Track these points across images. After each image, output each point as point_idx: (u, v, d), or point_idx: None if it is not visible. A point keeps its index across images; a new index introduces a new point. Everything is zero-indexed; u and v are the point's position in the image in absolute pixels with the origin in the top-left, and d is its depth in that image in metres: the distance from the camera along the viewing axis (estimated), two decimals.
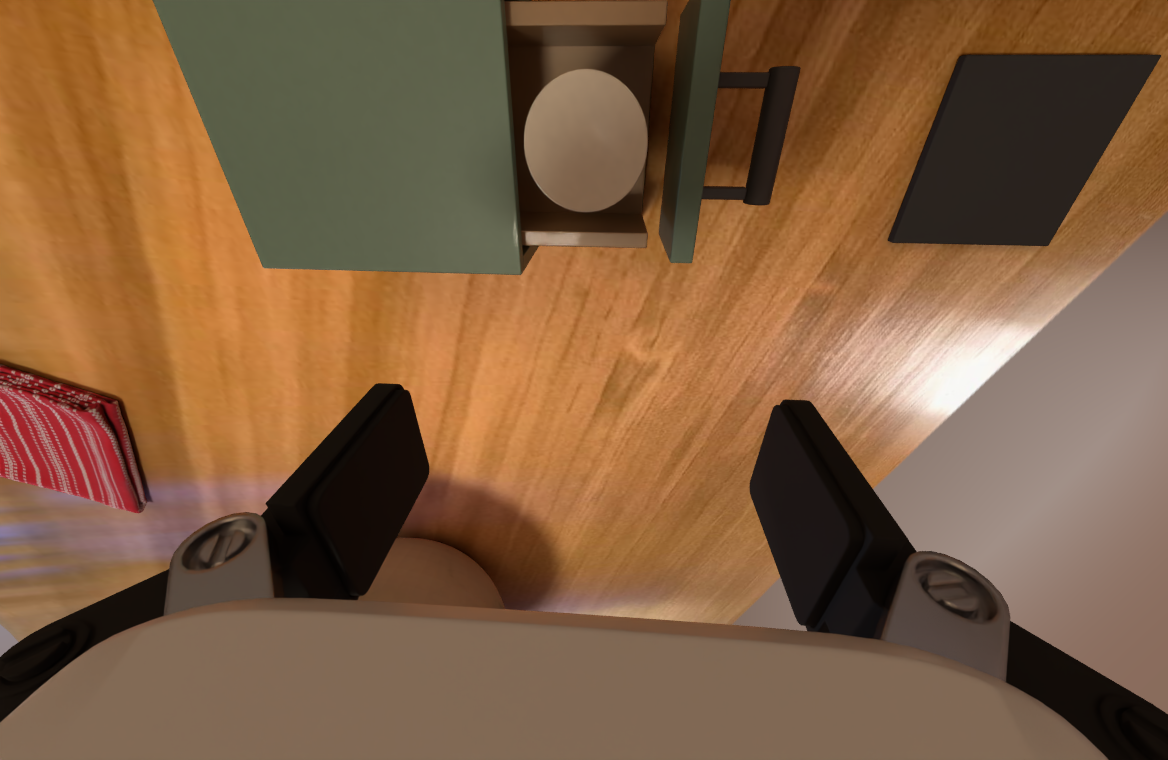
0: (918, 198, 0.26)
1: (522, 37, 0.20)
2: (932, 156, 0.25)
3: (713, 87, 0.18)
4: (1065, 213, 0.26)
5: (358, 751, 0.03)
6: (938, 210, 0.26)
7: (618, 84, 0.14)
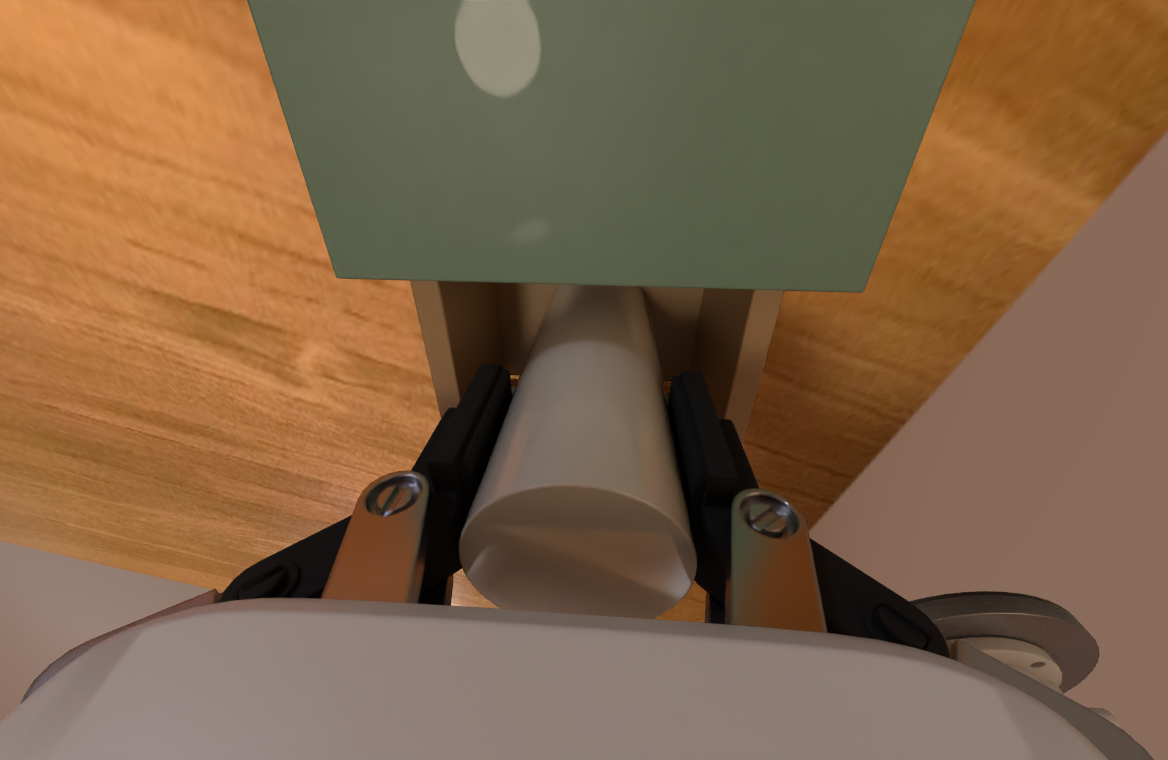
0: None
1: None
2: None
3: None
4: None
5: (358, 751, 0.03)
6: None
7: (666, 606, 0.08)
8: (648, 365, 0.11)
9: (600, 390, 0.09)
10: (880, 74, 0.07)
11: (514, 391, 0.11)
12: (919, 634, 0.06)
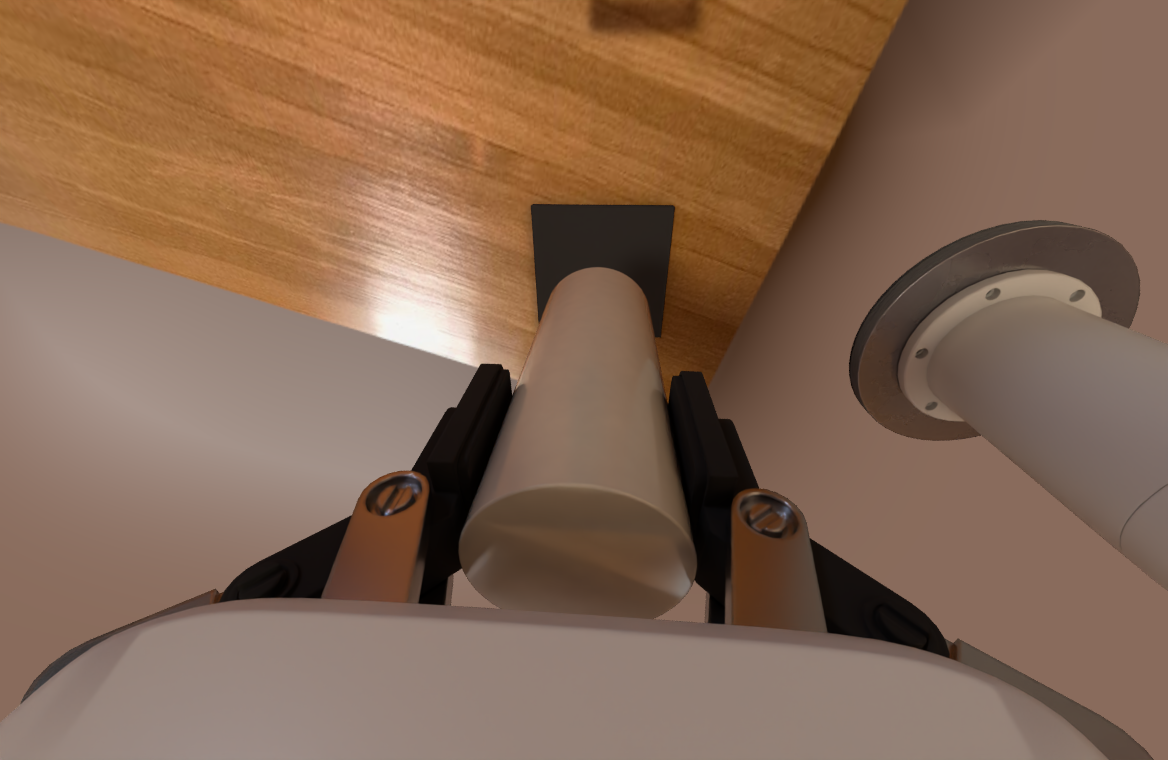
0: (570, 214, 0.29)
1: None
2: (603, 211, 0.29)
3: None
4: None
5: (358, 751, 0.03)
6: (561, 236, 0.30)
7: (666, 606, 0.08)
8: (648, 365, 0.11)
9: (600, 390, 0.09)
10: None
11: (514, 391, 0.11)
12: (918, 634, 0.06)
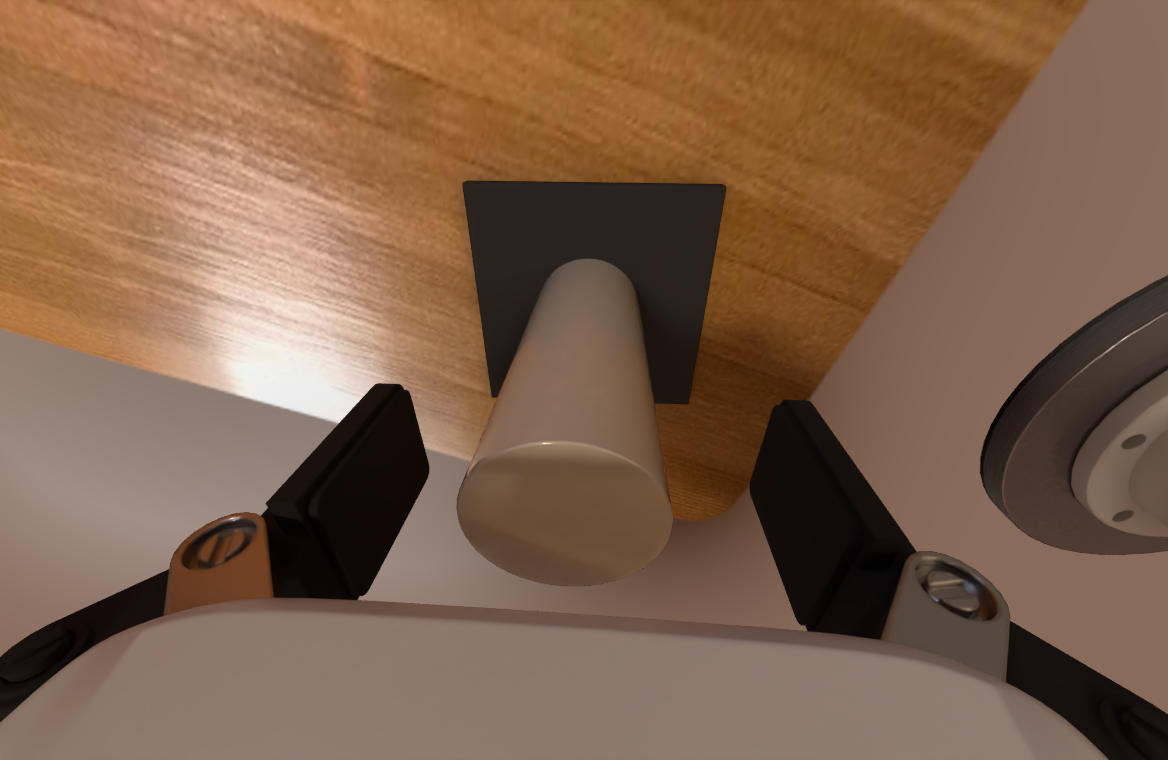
0: (534, 198, 0.16)
1: None
2: (595, 194, 0.16)
3: None
4: None
5: (358, 751, 0.03)
6: (519, 239, 0.17)
7: (646, 560, 0.09)
8: (632, 346, 0.12)
9: (587, 365, 0.09)
10: None
11: (508, 371, 0.12)
12: None
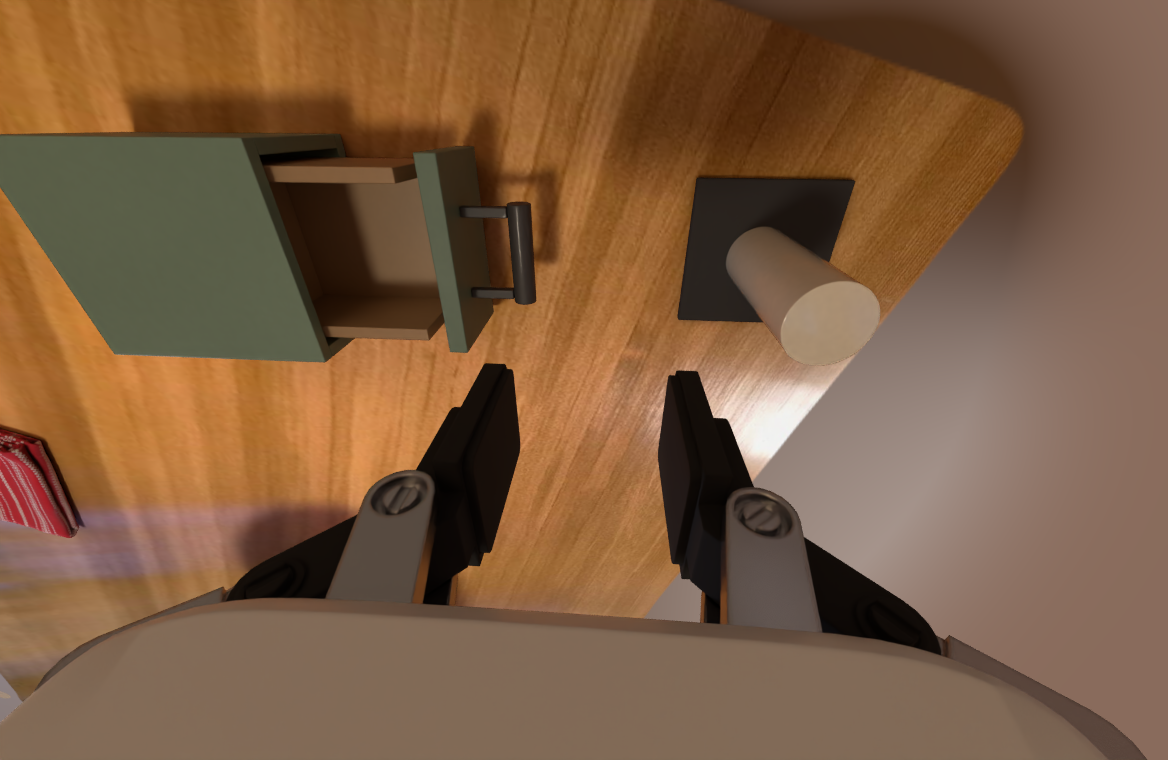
0: (690, 285, 0.31)
1: None
2: (692, 254, 0.29)
3: (443, 228, 0.22)
4: None
5: (358, 751, 0.03)
6: (709, 295, 0.31)
7: (866, 290, 0.18)
8: (770, 263, 0.23)
9: (766, 297, 0.22)
10: (173, 163, 0.21)
11: None
12: (910, 632, 0.06)
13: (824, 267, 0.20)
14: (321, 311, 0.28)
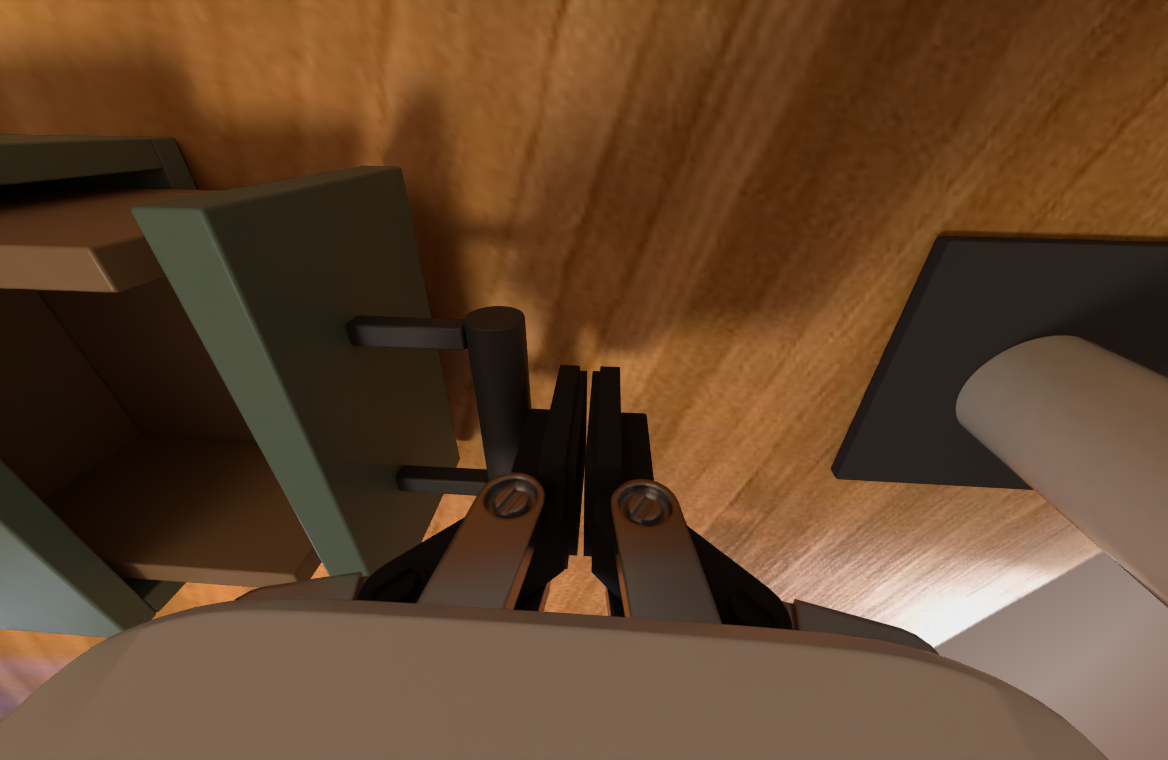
0: (874, 429, 0.16)
1: None
2: (894, 379, 0.15)
3: (280, 406, 0.08)
4: None
5: (358, 751, 0.03)
6: (907, 445, 0.16)
7: None
8: None
9: None
10: None
11: None
12: (767, 618, 0.06)
13: None
14: (102, 496, 0.14)
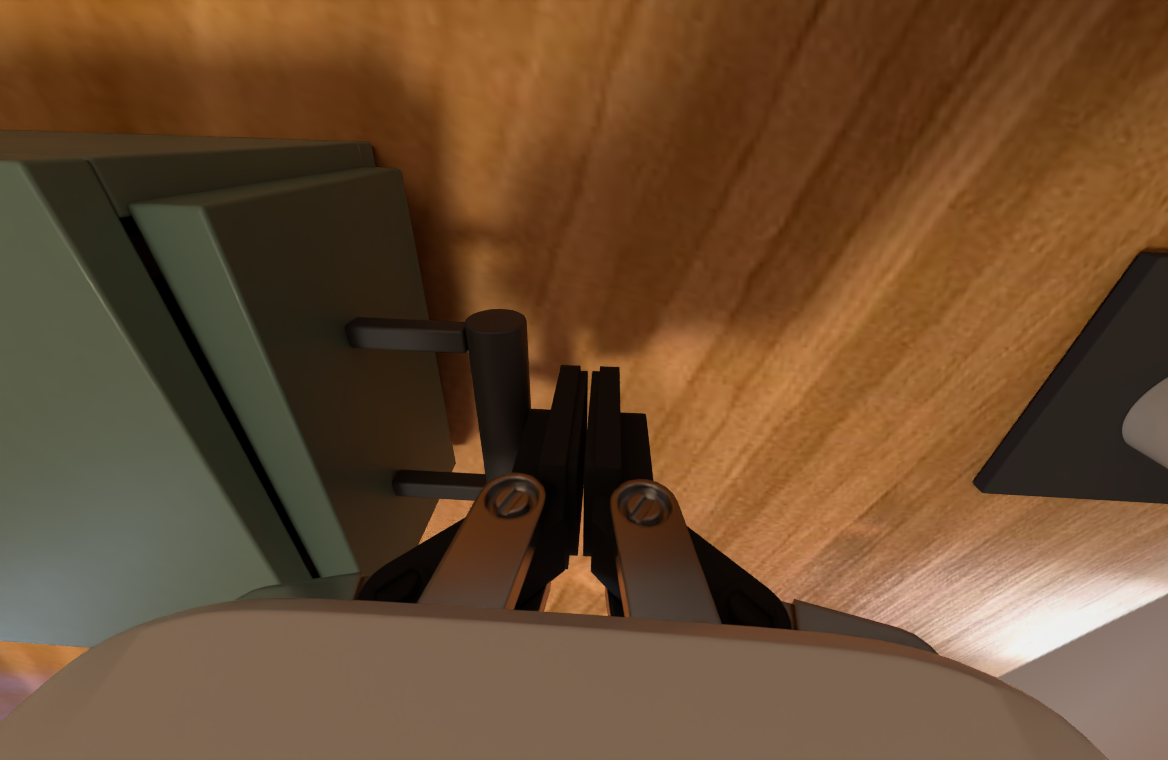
0: (1034, 444, 0.16)
1: None
2: (1068, 394, 0.15)
3: (277, 408, 0.08)
4: None
5: (358, 751, 0.03)
6: (1064, 459, 0.16)
7: None
8: None
9: None
10: None
11: None
12: (764, 619, 0.06)
13: None
14: None
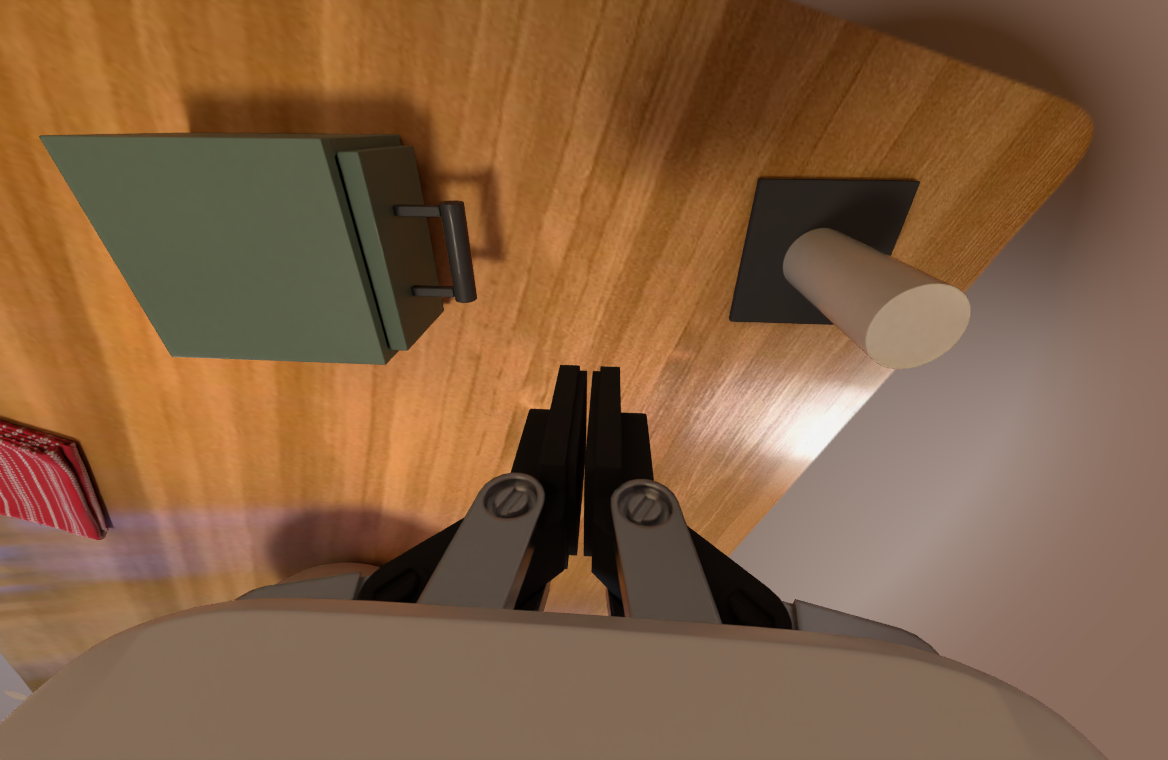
0: (745, 287, 0.30)
1: None
2: (749, 255, 0.29)
3: (372, 226, 0.23)
4: None
5: (358, 751, 0.03)
6: (763, 296, 0.31)
7: (959, 293, 0.18)
8: (844, 265, 0.23)
9: (844, 300, 0.21)
10: (249, 164, 0.21)
11: None
12: (766, 618, 0.06)
13: (909, 269, 0.20)
14: None
